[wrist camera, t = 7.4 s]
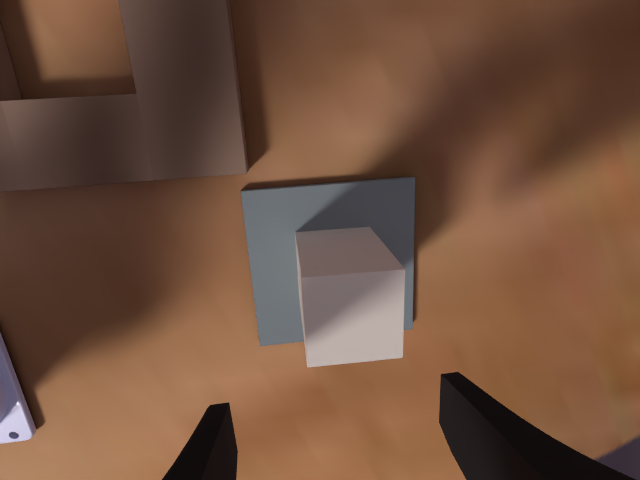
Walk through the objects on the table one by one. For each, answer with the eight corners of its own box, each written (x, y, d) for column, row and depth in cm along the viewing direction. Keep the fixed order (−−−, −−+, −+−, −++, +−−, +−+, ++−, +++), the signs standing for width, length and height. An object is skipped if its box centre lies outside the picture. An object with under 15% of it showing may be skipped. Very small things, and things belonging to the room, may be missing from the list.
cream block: (299, 300, 21) (307, 367, 16) (294, 232, 20) (301, 277, 14) (369, 294, 22) (402, 357, 16) (369, 226, 20) (405, 269, 15)
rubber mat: (260, 341, 22) (260, 346, 22) (241, 189, 20) (240, 191, 19) (409, 324, 23) (412, 329, 23) (412, 176, 20) (415, 177, 20)
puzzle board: (-48, 191, 18) (-75, 197, 17) (-175, -157, 14) (-226, -188, 13) (249, 169, 19) (246, 173, 18) (210, -158, 15) (203, -187, 14)
